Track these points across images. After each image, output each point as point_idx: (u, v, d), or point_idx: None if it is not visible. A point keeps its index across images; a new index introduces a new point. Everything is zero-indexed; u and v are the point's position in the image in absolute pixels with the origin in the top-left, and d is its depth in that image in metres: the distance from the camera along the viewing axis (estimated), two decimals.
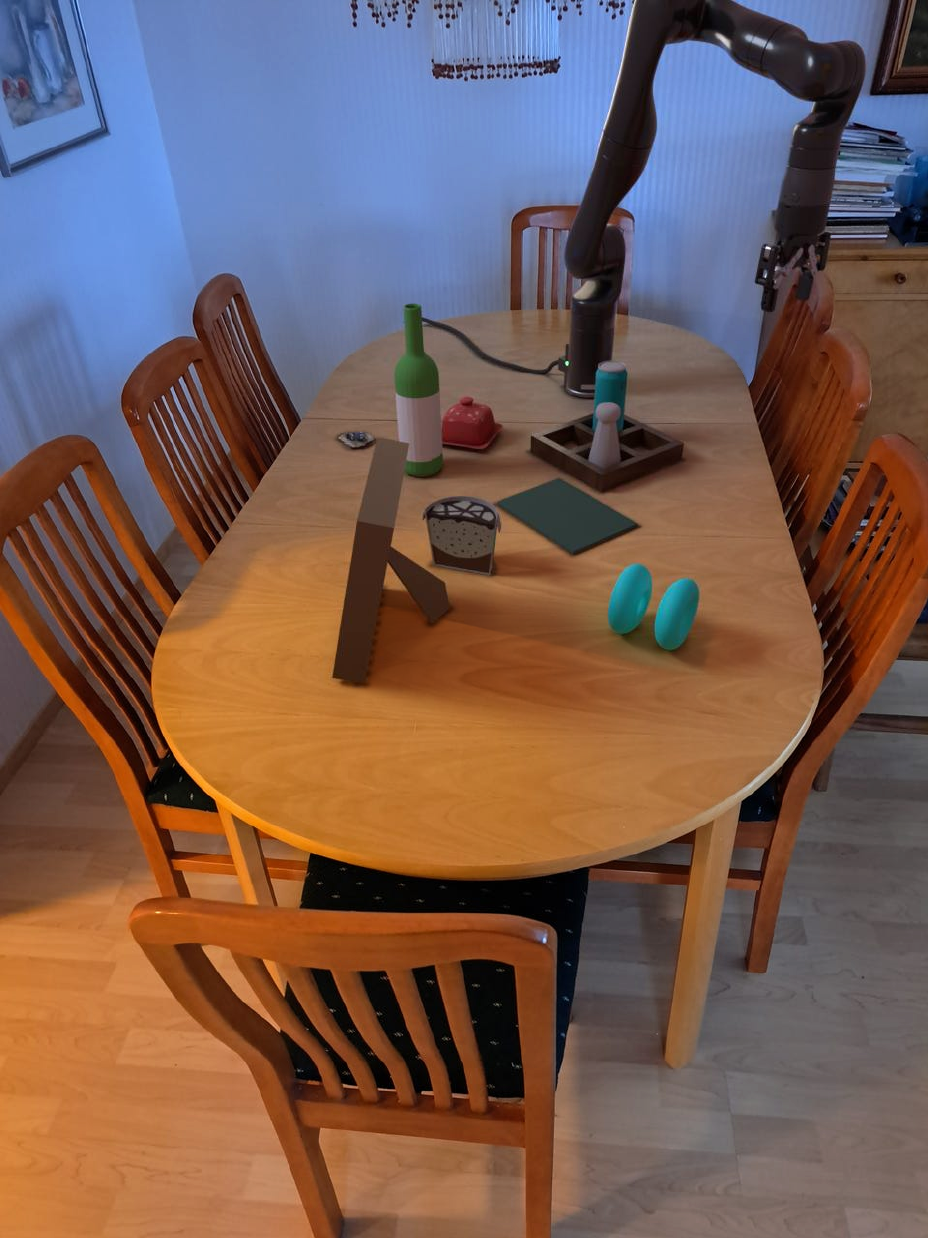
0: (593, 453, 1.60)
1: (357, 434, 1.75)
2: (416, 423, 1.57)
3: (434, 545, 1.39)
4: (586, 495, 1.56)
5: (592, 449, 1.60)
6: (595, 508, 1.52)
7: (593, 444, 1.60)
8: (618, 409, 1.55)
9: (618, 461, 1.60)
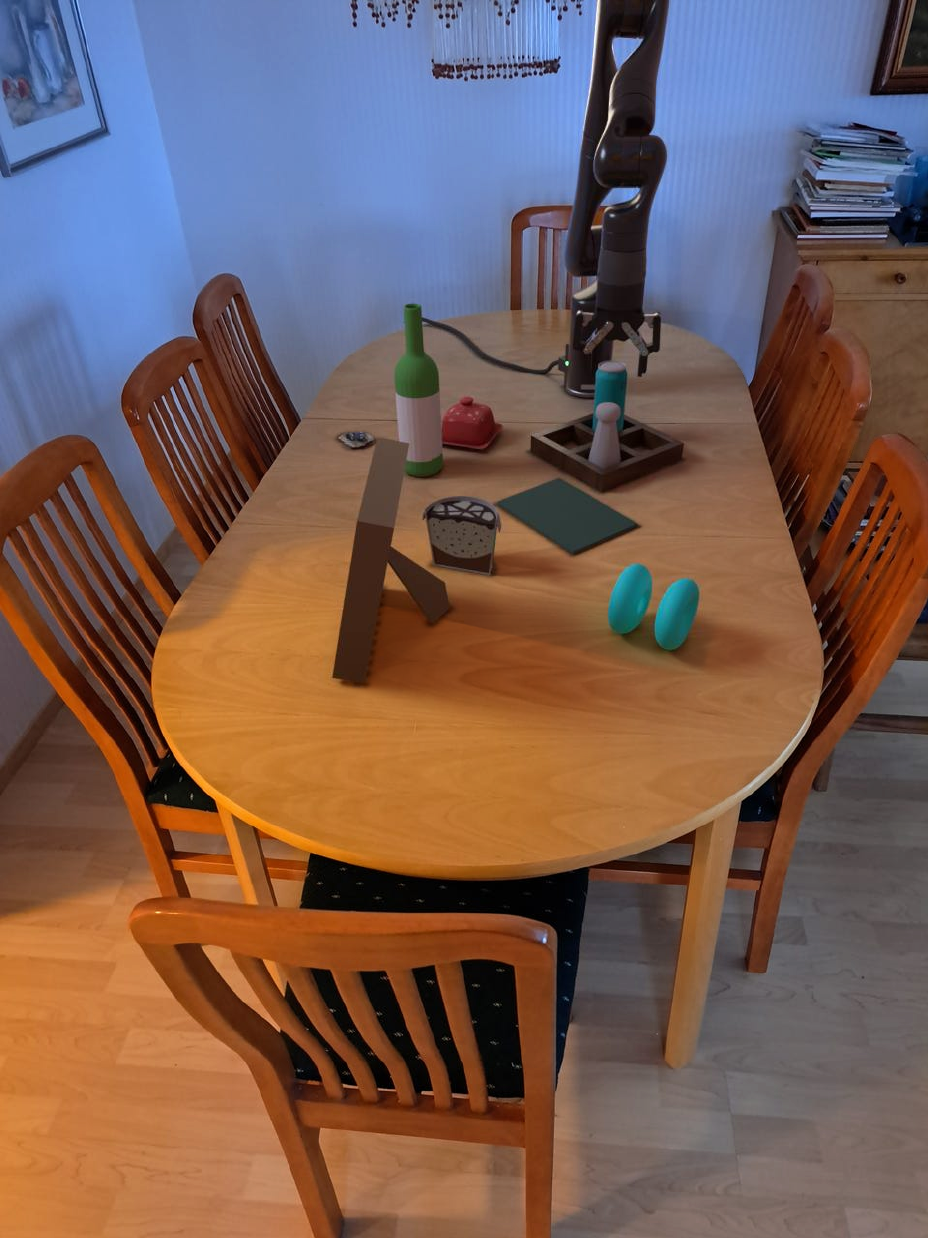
0: (593, 453, 1.60)
1: (357, 434, 1.75)
2: (416, 423, 1.57)
3: (434, 545, 1.39)
4: (586, 495, 1.56)
5: (592, 449, 1.60)
6: (595, 508, 1.52)
7: (593, 444, 1.60)
8: (618, 409, 1.55)
9: (618, 461, 1.60)
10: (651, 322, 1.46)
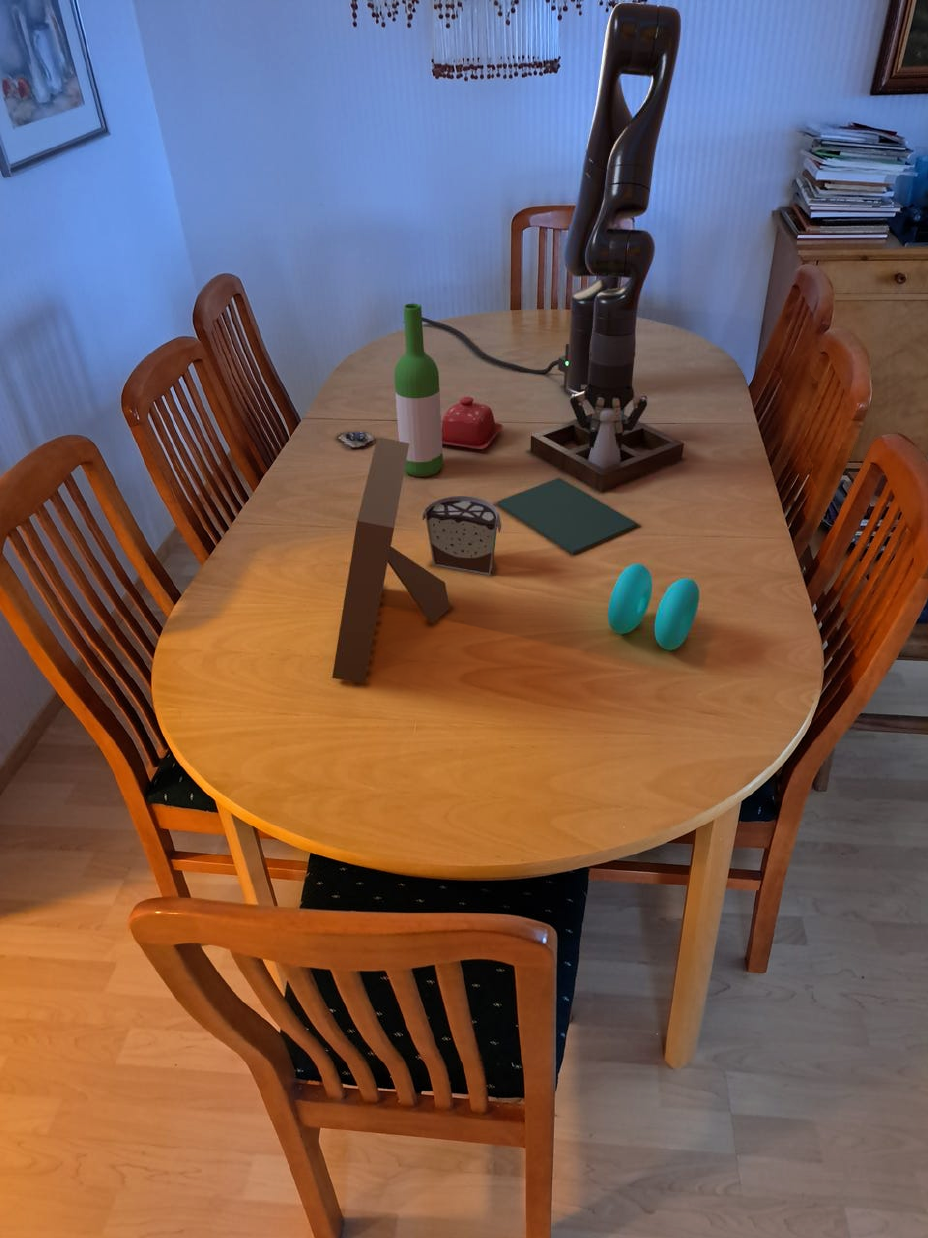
0: (593, 453, 1.60)
1: (357, 434, 1.75)
2: (416, 423, 1.57)
3: (434, 545, 1.39)
4: (586, 495, 1.56)
5: (592, 449, 1.60)
6: (595, 508, 1.52)
7: None
8: None
9: (618, 461, 1.61)
10: (637, 403, 1.54)
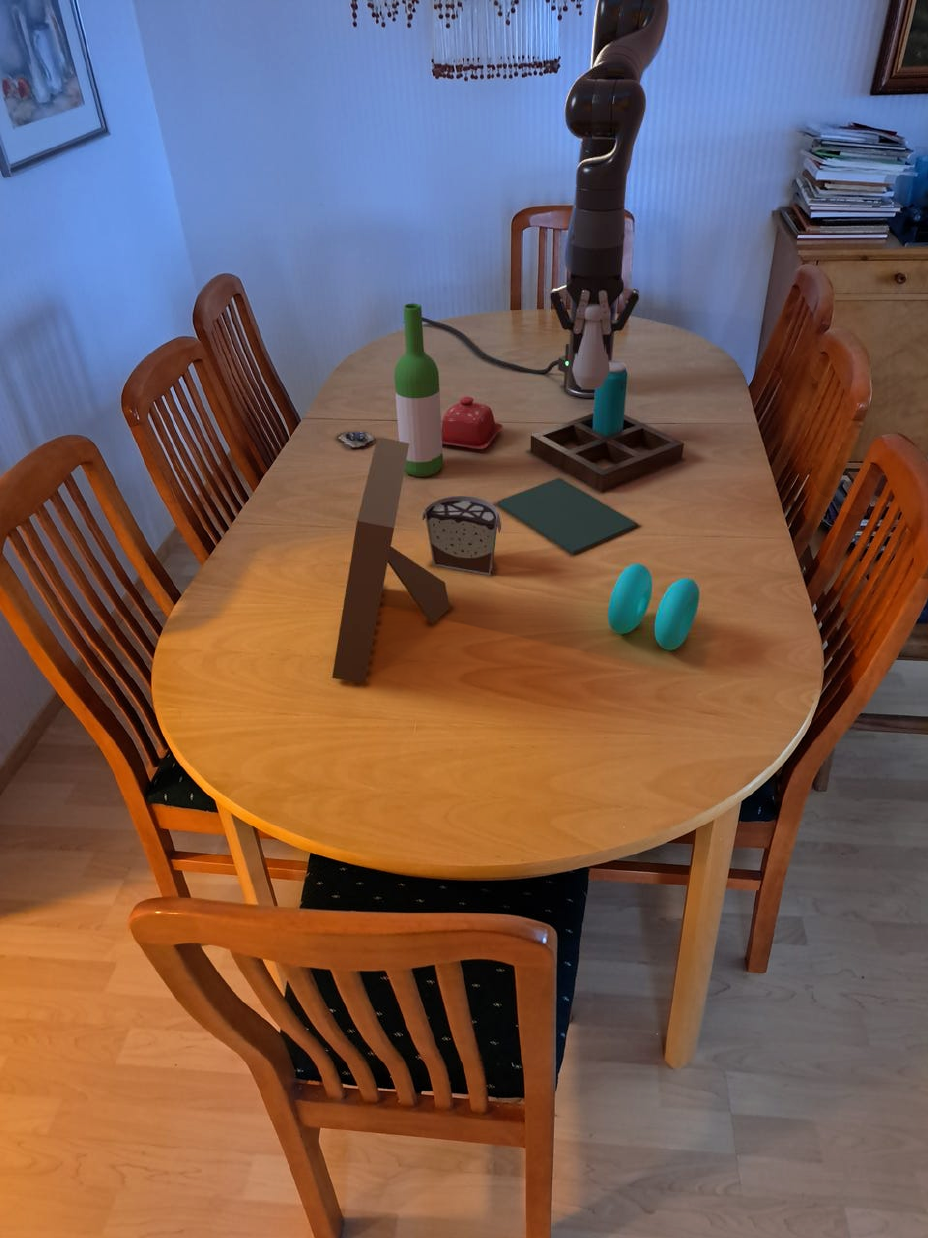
0: (577, 360, 1.40)
1: (357, 434, 1.75)
2: (416, 423, 1.57)
3: (434, 545, 1.39)
4: (586, 495, 1.56)
5: (576, 355, 1.40)
6: (595, 508, 1.52)
7: None
8: None
9: (606, 369, 1.40)
10: (627, 297, 1.34)
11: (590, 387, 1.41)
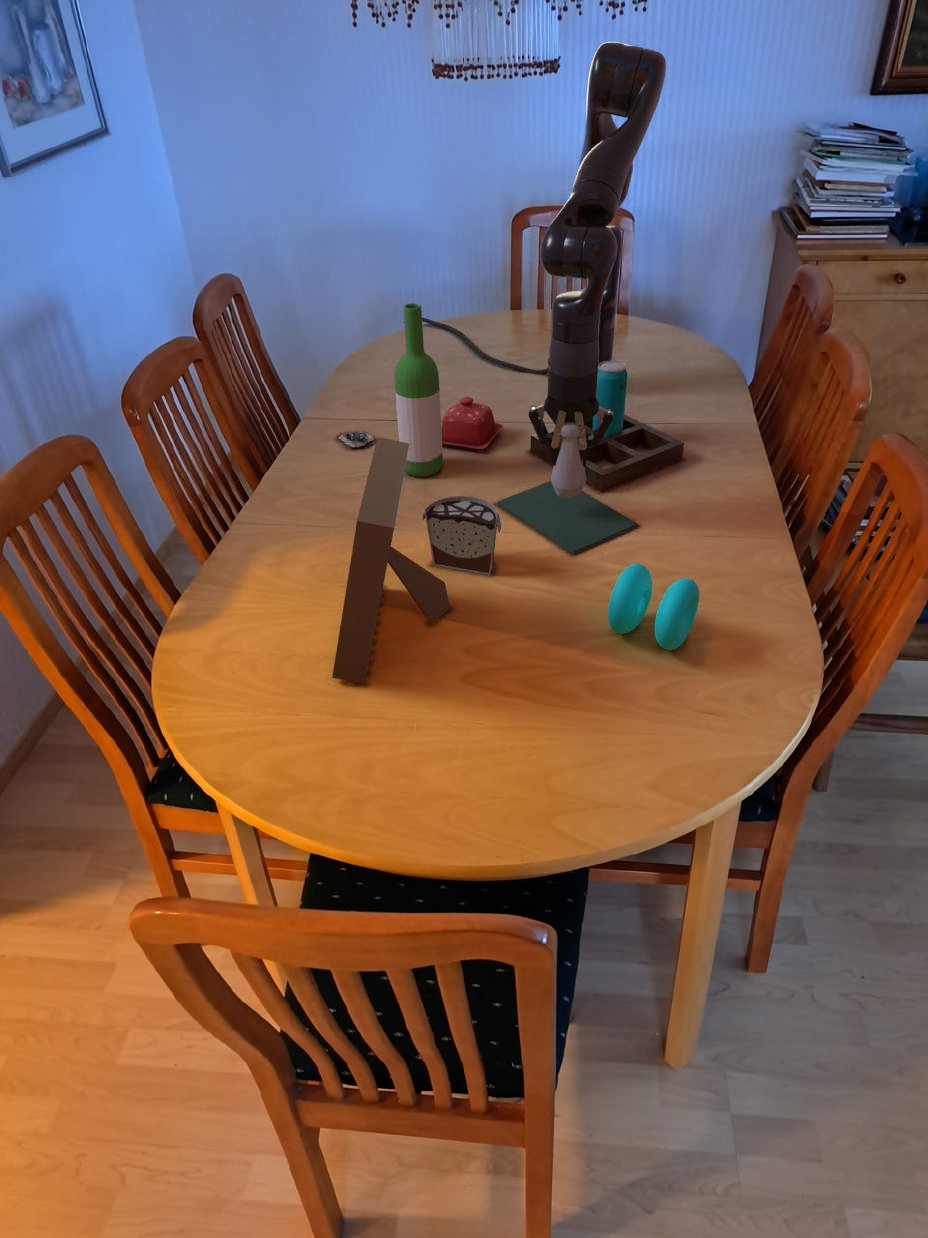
0: (555, 472, 1.46)
1: (357, 434, 1.75)
2: (416, 423, 1.57)
3: (434, 545, 1.39)
4: (586, 495, 1.56)
5: (554, 467, 1.46)
6: (595, 508, 1.52)
7: None
8: None
9: (583, 480, 1.46)
10: (602, 417, 1.40)
11: (567, 496, 1.47)
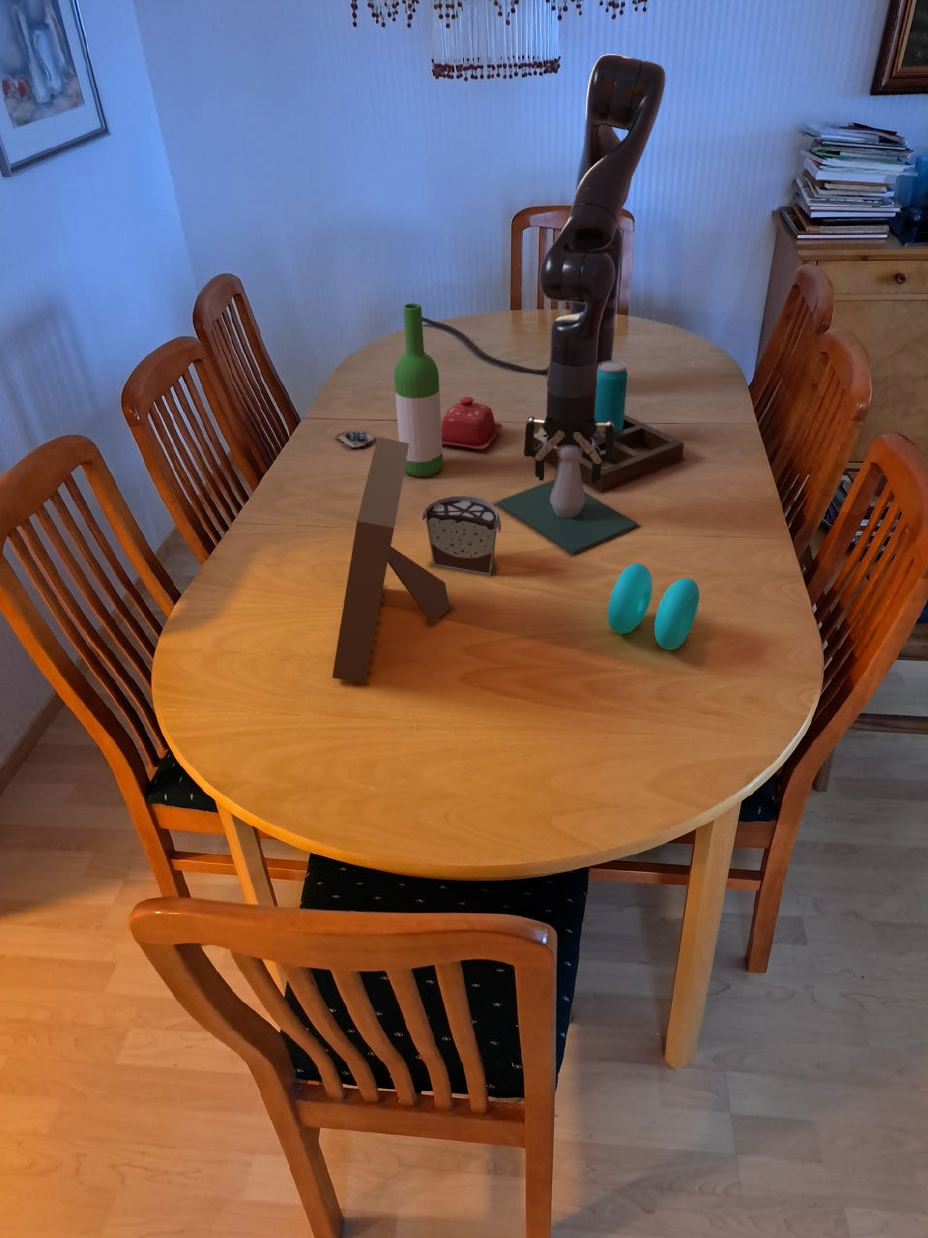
0: (554, 492, 1.48)
1: (357, 434, 1.75)
2: (416, 423, 1.57)
3: (434, 545, 1.39)
4: (586, 495, 1.56)
5: (553, 488, 1.48)
6: (595, 508, 1.52)
7: (554, 483, 1.48)
8: None
9: (582, 501, 1.48)
10: (604, 431, 1.41)
11: (566, 516, 1.50)
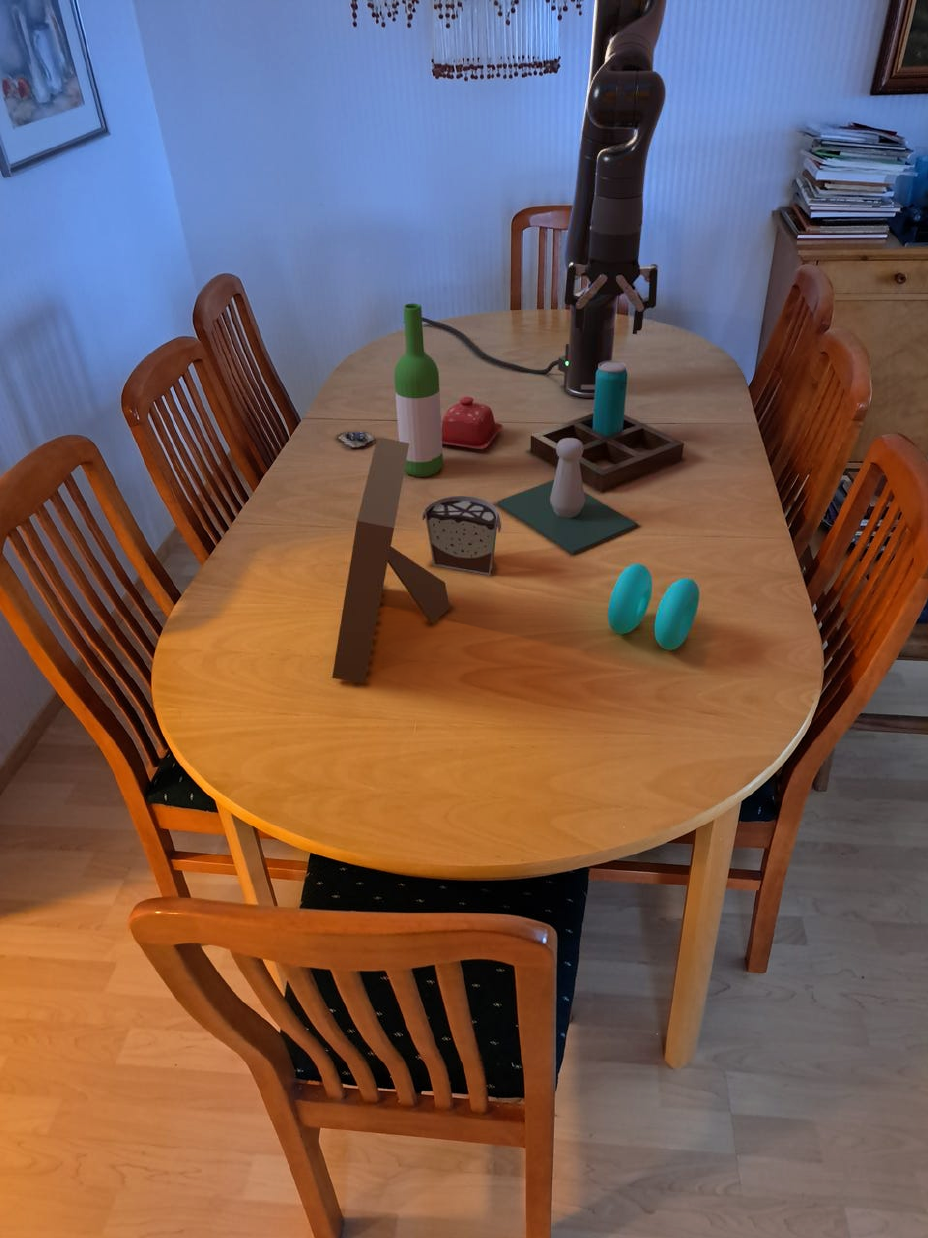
0: (554, 492, 1.48)
1: (357, 434, 1.75)
2: (416, 423, 1.57)
3: (434, 545, 1.39)
4: (586, 495, 1.56)
5: (553, 488, 1.48)
6: (595, 508, 1.52)
7: (554, 483, 1.48)
8: (580, 446, 1.43)
9: (582, 501, 1.48)
10: (647, 275, 1.38)
11: (566, 516, 1.50)
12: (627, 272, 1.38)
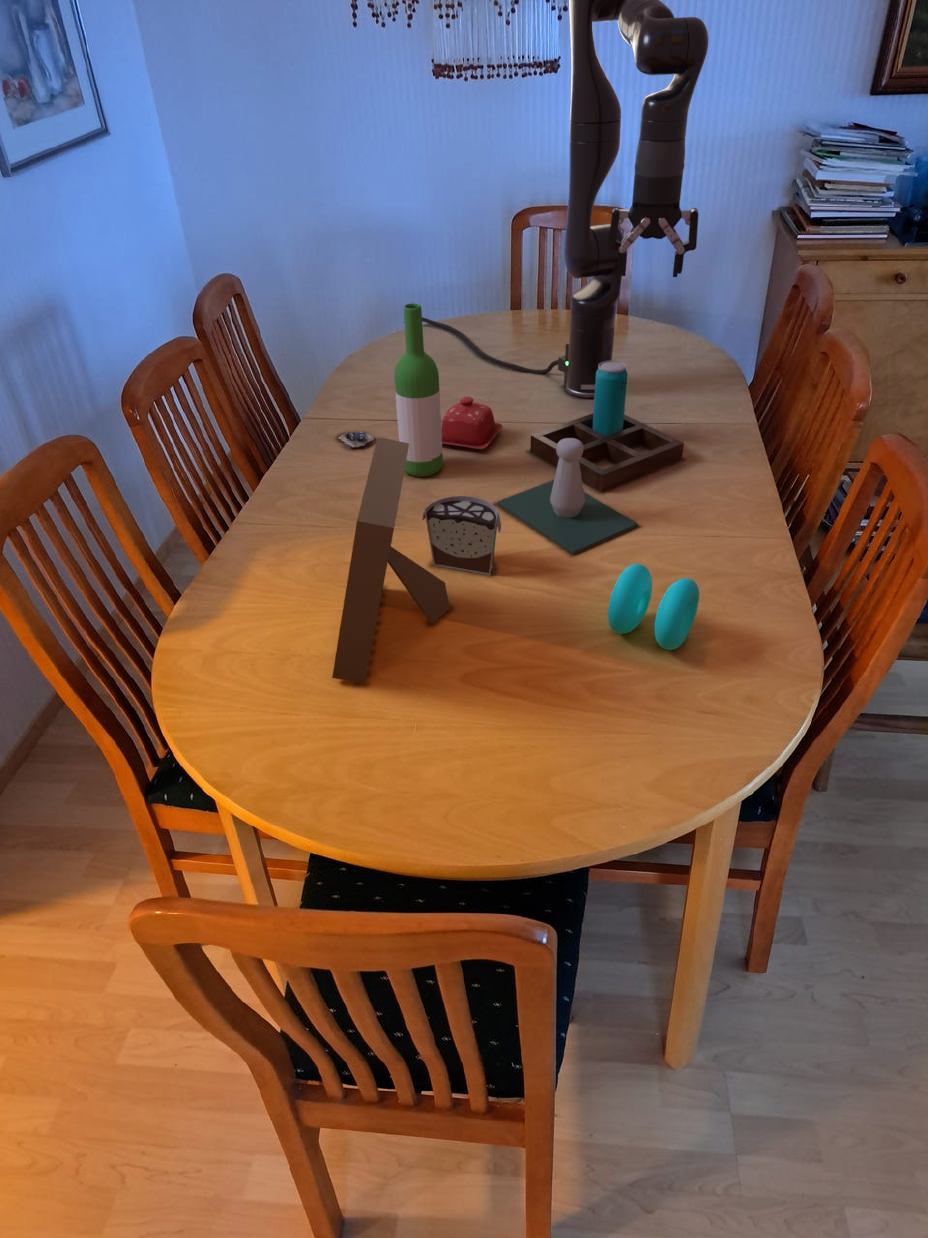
0: (554, 492, 1.48)
1: (357, 434, 1.75)
2: (416, 423, 1.57)
3: (434, 545, 1.39)
4: (586, 495, 1.56)
5: (553, 488, 1.48)
6: (595, 508, 1.52)
7: (554, 483, 1.48)
8: (580, 446, 1.43)
9: (582, 501, 1.48)
10: (688, 218, 1.45)
11: (566, 516, 1.50)
12: (669, 215, 1.44)
